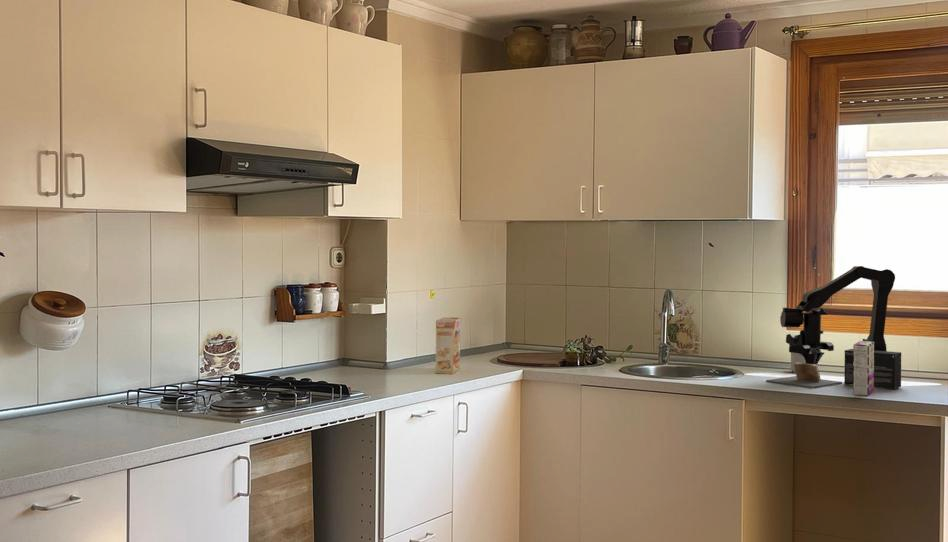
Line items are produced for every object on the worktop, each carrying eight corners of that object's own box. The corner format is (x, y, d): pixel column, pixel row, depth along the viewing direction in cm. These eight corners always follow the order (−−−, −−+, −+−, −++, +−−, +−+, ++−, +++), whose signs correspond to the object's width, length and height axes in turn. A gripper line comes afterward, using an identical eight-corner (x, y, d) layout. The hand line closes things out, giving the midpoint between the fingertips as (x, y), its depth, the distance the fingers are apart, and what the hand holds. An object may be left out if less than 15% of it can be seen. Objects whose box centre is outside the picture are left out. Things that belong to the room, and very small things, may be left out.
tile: (820, 379, 322) (817, 364, 321) (818, 382, 321) (814, 367, 320) (800, 377, 329) (796, 362, 327) (797, 379, 328) (793, 364, 326)
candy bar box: (857, 390, 309) (858, 340, 308) (874, 391, 306) (875, 341, 306) (851, 394, 299) (852, 343, 299) (868, 396, 297) (869, 344, 296)
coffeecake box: (453, 374, 339) (454, 320, 338) (434, 373, 340) (434, 320, 339) (461, 368, 354) (461, 317, 353) (442, 368, 355) (442, 316, 354)
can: (793, 370, 356) (794, 338, 356) (813, 371, 352) (814, 340, 352) (788, 372, 350) (788, 340, 350) (808, 374, 346) (809, 341, 345)
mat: (842, 383, 323) (842, 382, 323) (812, 388, 312) (812, 386, 312) (796, 377, 337) (796, 375, 337) (766, 381, 326) (766, 380, 326)
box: (901, 386, 315) (902, 351, 314) (895, 390, 310) (895, 354, 309) (850, 381, 326) (850, 347, 325) (843, 384, 321) (843, 350, 320)
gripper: (806, 324, 337) (805, 367, 337) (775, 327, 325) (774, 371, 326) (835, 327, 328) (834, 371, 328) (804, 329, 316) (803, 375, 317)
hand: (810, 372), depth 325 cm, fingers closed
